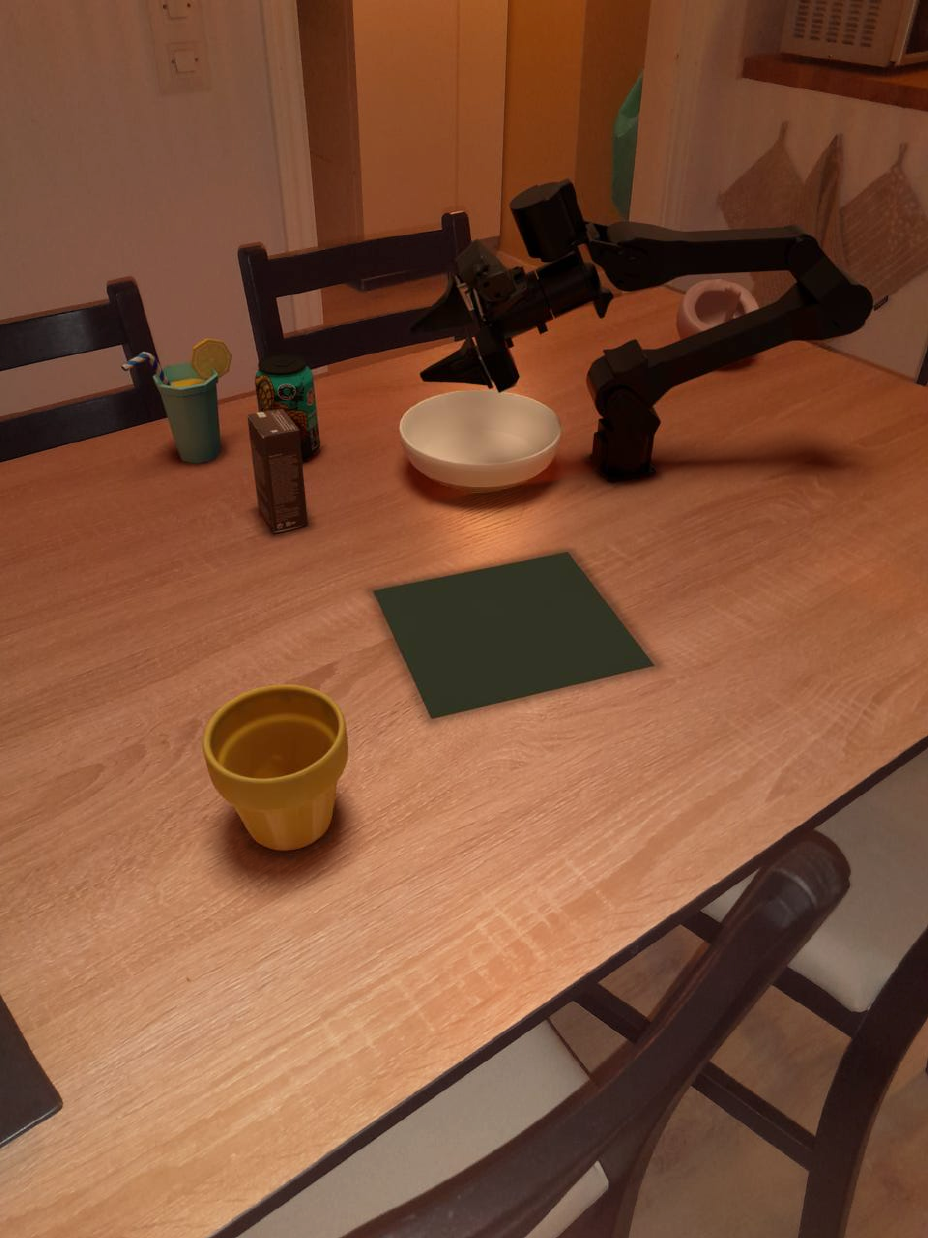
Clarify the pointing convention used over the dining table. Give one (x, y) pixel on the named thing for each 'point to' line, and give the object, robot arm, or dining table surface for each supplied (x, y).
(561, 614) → the mat
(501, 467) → the bowl
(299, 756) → the flower pot
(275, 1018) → the dining table surface
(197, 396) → the cup
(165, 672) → the dining table surface
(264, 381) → the green cylinder
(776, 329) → the robot arm
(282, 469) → the box
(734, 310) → the mortar and pestle
